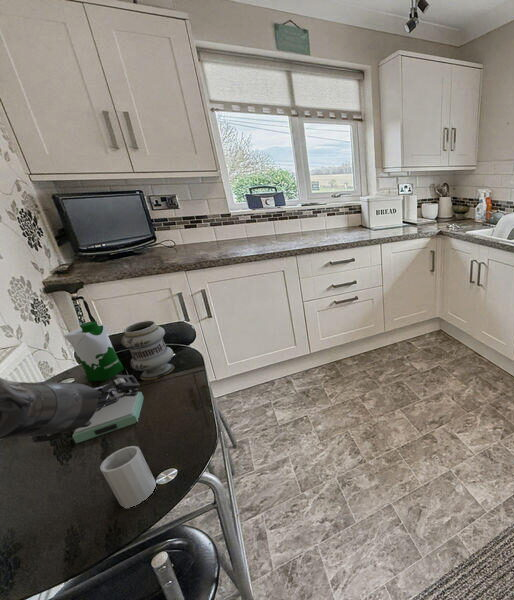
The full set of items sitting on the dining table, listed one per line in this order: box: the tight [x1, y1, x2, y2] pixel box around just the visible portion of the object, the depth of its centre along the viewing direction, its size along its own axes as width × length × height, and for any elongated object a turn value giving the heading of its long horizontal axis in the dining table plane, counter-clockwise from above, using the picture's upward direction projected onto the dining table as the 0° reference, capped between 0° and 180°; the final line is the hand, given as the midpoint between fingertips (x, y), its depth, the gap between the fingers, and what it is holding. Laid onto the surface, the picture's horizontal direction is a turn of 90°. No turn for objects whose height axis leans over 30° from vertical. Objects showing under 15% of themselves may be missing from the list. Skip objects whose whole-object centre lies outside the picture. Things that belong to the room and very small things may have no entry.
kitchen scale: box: [71, 391, 145, 444], centre depth 91 cm, size 13×14×3 cm
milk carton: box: [63, 320, 125, 382], centre depth 111 cm, size 9×9×20 cm
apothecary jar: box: [120, 320, 175, 381], centre depth 111 cm, size 12×12×18 cm
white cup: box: [99, 445, 157, 509], centre depth 66 cm, size 6×6×10 cm
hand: (111, 405), depth 63 cm, fingers open, 8 cm apart
